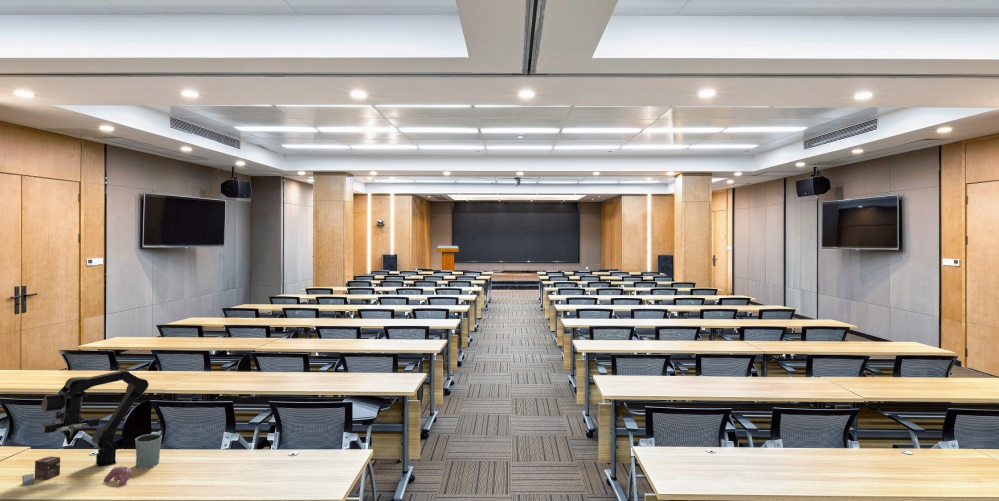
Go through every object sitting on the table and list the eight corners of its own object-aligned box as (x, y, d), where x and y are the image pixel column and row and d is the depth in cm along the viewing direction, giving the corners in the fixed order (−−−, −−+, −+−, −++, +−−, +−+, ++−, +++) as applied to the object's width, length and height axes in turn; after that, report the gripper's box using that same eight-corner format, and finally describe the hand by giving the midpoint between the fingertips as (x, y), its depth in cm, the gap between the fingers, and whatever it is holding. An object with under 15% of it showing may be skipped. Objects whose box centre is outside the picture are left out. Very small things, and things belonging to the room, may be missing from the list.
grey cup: (155, 458, 253) (156, 432, 253) (165, 463, 247) (166, 437, 247) (130, 465, 245) (131, 437, 245) (140, 470, 239) (140, 442, 239)
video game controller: (128, 486, 226) (136, 468, 229) (119, 485, 222) (127, 467, 225) (111, 483, 229) (119, 465, 232) (101, 481, 225) (109, 463, 228)
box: (45, 480, 226) (46, 462, 227) (33, 478, 228) (34, 460, 228) (60, 474, 232) (60, 457, 233) (48, 473, 234) (49, 455, 234)
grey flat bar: (33, 474, 232) (33, 473, 232) (33, 483, 223) (33, 483, 223) (23, 476, 230) (23, 475, 230) (23, 485, 221) (23, 485, 221)
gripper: (93, 400, 247) (89, 435, 247) (40, 406, 233) (35, 443, 233) (101, 406, 240) (96, 442, 240) (47, 413, 226) (42, 451, 226)
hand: (68, 444), depth 235 cm, fingers closed
